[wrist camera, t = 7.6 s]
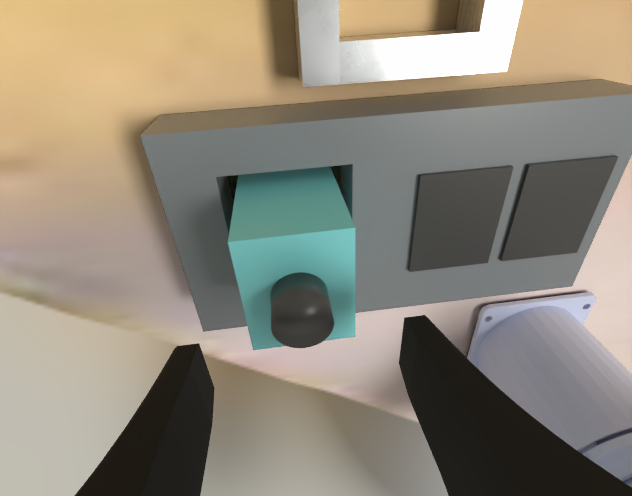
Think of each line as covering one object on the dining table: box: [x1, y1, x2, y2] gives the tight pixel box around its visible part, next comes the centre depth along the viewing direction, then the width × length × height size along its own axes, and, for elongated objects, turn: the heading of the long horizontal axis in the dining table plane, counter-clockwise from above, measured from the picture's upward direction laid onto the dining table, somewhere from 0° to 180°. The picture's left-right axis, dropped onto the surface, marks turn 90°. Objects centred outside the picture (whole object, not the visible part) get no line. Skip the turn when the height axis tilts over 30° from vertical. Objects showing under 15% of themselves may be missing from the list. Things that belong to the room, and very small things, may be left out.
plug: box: [228, 166, 355, 350], centre depth 15 cm, size 5×4×8 cm
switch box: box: [140, 79, 632, 331], centre depth 17 cm, size 10×20×3 cm, turn 93°
